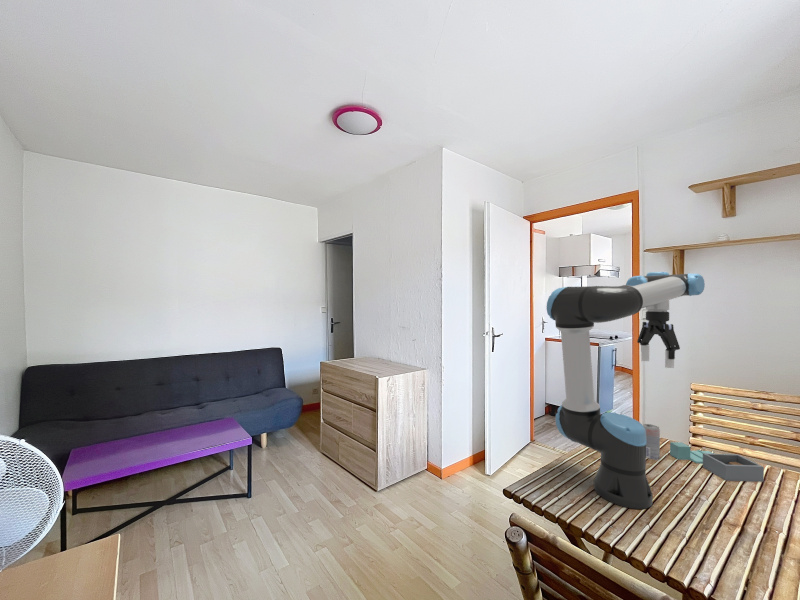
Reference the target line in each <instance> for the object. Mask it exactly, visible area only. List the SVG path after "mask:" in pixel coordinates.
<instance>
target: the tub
mask: <svg viewBox="0 0 800 600" xmlns="http://www.w3.org/2000/svg"><path fill="white" fill-rule="evenodd" d="M729 462H737V463H740V464H742V465H728V463H729ZM702 468H704V469H705V470H707V471H709V472H710V473H712V474H714V475H715V476H717V477H719V478H721V479H722V480H724V481H731V482H737V481H738V482H754V483H755V482H756V483H757V482H759V483H760V482H761V483H764V481H765V480H764V478H765V477H764V475H765V472H764V471H765V467H764V466H763V465H761V464H758V462H755V461H752V460H751V459H748V458H746V457H744V456H742V455H740V454H738V453H714V454H709V453H703V464H702Z"/></svg>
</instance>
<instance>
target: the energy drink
mask: <svg viewBox="0 0 800 600" xmlns="http://www.w3.org/2000/svg"><path fill="white" fill-rule="evenodd" d="M642 425H643V427H644V428H645V431H646V440H647V443H646V459H649V460H660V457H661V456H660V453H661V452H660V450H661V449H660V446H661V444H660V443H661V441H660V438H661V430H660V427H659V426H657V425H654V424H649V423H644V424H642Z"/></svg>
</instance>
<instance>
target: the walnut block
mask: <svg viewBox="0 0 800 600" xmlns="http://www.w3.org/2000/svg"><path fill="white" fill-rule="evenodd" d="M728 465H742V464H740V463H737V462H729V463H728Z"/></svg>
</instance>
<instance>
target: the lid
mask: <svg viewBox="0 0 800 600" xmlns="http://www.w3.org/2000/svg"><path fill="white" fill-rule="evenodd" d="M669 444H670V445H669V455H670V456H671V457H673V458H675V459H677V460H678V461H681V460H682V461H685V460H686V461H691V462H693V463H695V464H702V465H703V453H709V454H715V453H714V452H712V451H709V450H701V449H696V450H691V446H690V445H688V444H686V443H684V442H682V441H680V442H679V441H677V442H676V441H670V442H669Z"/></svg>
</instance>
